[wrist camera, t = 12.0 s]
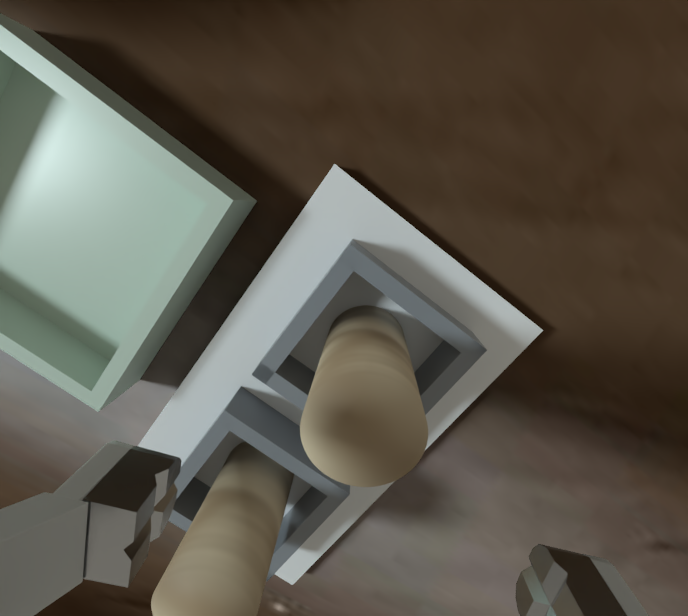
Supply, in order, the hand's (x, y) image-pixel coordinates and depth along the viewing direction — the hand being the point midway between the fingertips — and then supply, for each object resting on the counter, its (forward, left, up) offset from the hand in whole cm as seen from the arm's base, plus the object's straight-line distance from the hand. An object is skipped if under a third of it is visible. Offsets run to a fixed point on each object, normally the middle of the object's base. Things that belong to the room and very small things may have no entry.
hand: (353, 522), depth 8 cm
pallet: (-5, 0, -13) cm, 13 cm away
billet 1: (-10, 0, -12) cm, 15 cm away
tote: (-4, +15, -13) cm, 20 cm away
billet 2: (0, 0, -11) cm, 11 cm away
